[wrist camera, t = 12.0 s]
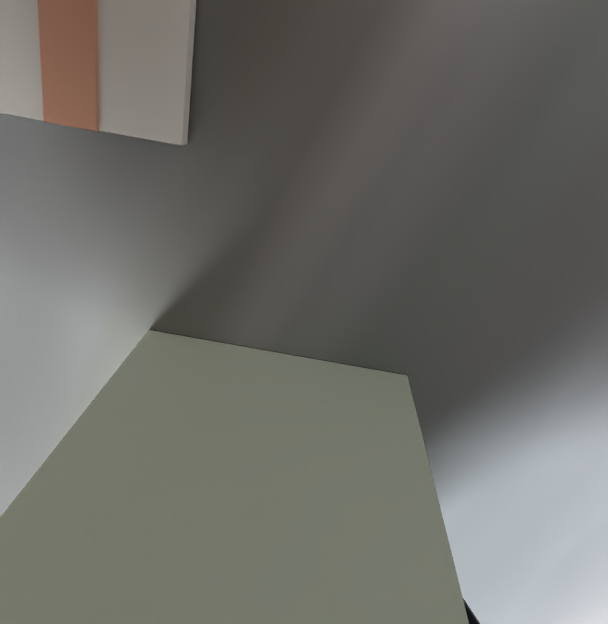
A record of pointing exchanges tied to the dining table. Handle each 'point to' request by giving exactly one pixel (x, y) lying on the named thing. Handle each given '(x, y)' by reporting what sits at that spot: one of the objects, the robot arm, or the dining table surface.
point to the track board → (100, 64)
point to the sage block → (233, 499)
